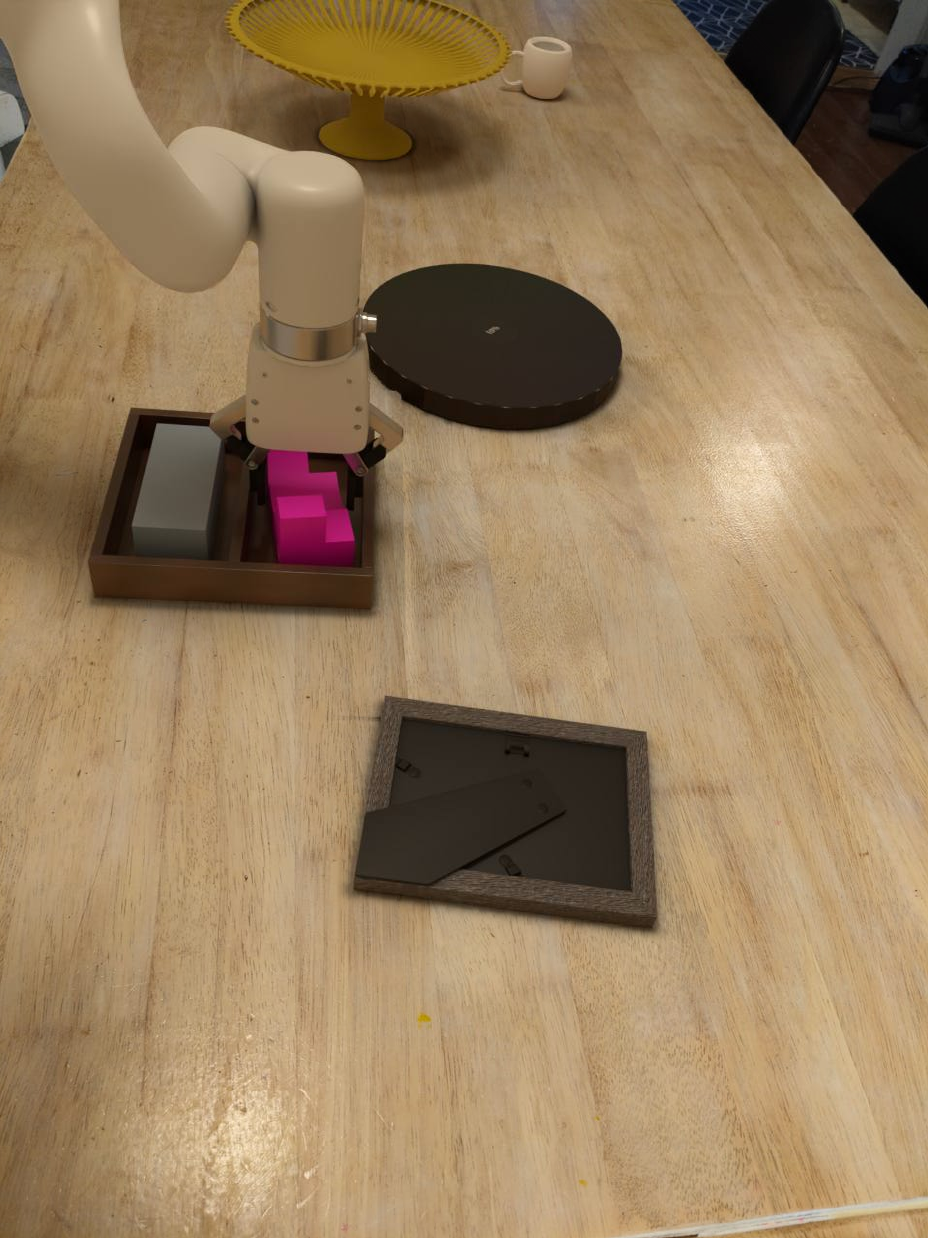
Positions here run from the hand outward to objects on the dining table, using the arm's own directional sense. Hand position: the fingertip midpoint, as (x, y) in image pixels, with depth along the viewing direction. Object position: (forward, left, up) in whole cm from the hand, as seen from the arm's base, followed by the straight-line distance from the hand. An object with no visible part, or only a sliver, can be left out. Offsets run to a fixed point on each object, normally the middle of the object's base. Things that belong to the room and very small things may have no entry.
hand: (306, 497), depth 92 cm
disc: (+19, +32, -4) cm, 38 cm away
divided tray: (-6, 0, -4) cm, 7 cm away
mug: (+32, +113, -4) cm, 118 cm away
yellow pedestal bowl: (+4, +87, -4) cm, 87 cm away
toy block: (0, 0, -3) cm, 3 cm away
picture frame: (+16, -30, -4) cm, 34 cm away
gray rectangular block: (-11, 0, -3) cm, 11 cm away
